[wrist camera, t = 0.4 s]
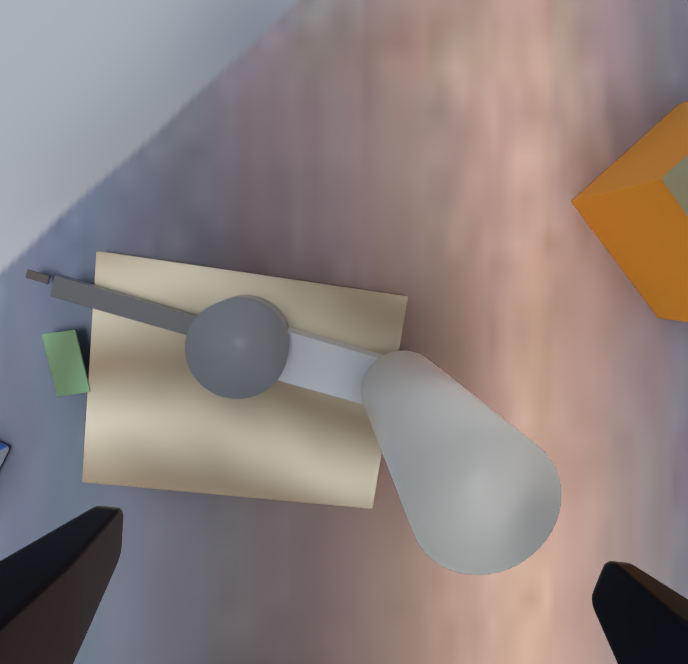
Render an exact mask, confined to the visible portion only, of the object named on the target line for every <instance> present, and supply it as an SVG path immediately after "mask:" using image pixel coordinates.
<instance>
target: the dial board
mask: <svg viewBox="0 0 688 664" xmlns="http://www.w3.org/2000/svg"><path fill="white" fill-rule="evenodd" d="M26 278H28V279H32V280H35V281H39V282H42V283H46V284H49V279H50V276H49V275H45V274H42V273H39V272H35V271H32V270H27V273H26ZM94 285H98V286H101V287H105V288H108V289H112V290H115V291H118V292H122V293H125V294H129V295H132V296H135V297H139V298H142V299H146V300H149V301H153V302H156V303H159V304H163V305H166V306H170V307H173V308H176V309H180V310H183V311H187V312H190V313H194V314H197V315H199V314H200V313H201V312H202V311H203V310H204V309H206V308H208V307H209V306H211V305H213V304H215V303H218V302H220V301H223V300H225V299H228V298H231V297H234V296H239V295H253V296H257V297H261V298H263V299H266V300H267V301H269V302H271V303H272V304H274V305H275V306H276V307H277V308H278V309H279V310H280V311H281V312H282V314H283V315H284V317H285V318H286V320H287V323H288V325H289V327H292V328H296V329H299V330H302V331H306V332H309V333H312V334H316V335H319V336H323V337H326V338H329V339H333V340H336V341H339V342H343V343H346V344H349V345H353V346H356V347H360V348H363V349H366V350H370V351H373V352H376V353H380V354H383V355H385V354H388V353H390V352H394V351H399V348H400V342H401V336H402V330H403V325H404V319H405V313H406V307H407V301H408V296H405V295H398V294H392V293H385V292H378V291H371V290H364V289H357V288H350V287H344V286H337V285H330V284H323V283H316V282H309V281H302V280H296V279H289V278H282V277H275V276H268V275H261V274H254V273H248V272H241V271H234V270H227V269H220V268H213V267H206V266H199V265H193V264H186V263H179V262H172V261H165V260H158V259H151V258H145V257H138V256H131V255H124V254H117V253H110V252H100V251H96V267H95V283H94ZM41 335H42V339H43V343H44V347H45V351H46V354H47V358H48V362H49V366H50V370H51V374H52V378H53V382H54V386H55V390H56V394H57V397H58V396H65V395H72V394H79V393H86V392H88V396H87V412H86V428H85V444H84V460H83V476H82V482H87V483H98V484H108V485H119V486H130V487H141V488H152V489H163V490H174V491H185V492H196V493H206V494H217V495H228V496H239V497H250V498H261V499H272V500H283V501H293V502H304V503H315V504H326V505H337V506H348V507H359V508H370V509H372V507H373V501H374V495H375V490H376V484H377V478H378V472H379V466H380V460H381V454H382V451H381V448H380V446H379V443H378V441H377V438H376V435H375V433H374V430H373V428H372V425H371V423H370V420H369V417H368V415H367V412H366V410H365V407H364V404H360V403H357V402H353V401H350V400H346V399H343V398H339V397H335V396H332V395H328V394H325V393H321V392H318V391H314V390H310V389H307V388H303V387H300V386H296V385H293V384H289V383H285V382H282V381H278V380H277V381H276V382H275V383H274V384H273V385H272V386H271V387H270V388H269V389H268V390H266V391H264V392H263V393H261V394H259V395H256V396H253V397H250V398H245V399H229V398H225V397H221V396H218V395H216V394H214V393H212V392H210V391H208V390H207V389H205V388H204V387H203V386H202V385H201V384H200V383H199V382H198V381H197V380H196V379H195V378H194V376H193V375H192V373H191V371H190V369H189V367H188V364H187V362H186V357H185V340H186V335H184V334H180V333H177V332H173V331H170V330H166V329H163V328H159V327H156V326H152V325H149V324H145V323H142V322H138V321H135V320H131V319H128V318H124V317H121V316H117V315H114V314H110V313H107V312H103V311H100V310H96V309H93V315H92V331H91V347H90V364H89V380H88V377H87V373H86V369H85V365H84V361H83V356H82V352H81V348H80V344H79V340H78V336H77V331H76V330H69V331H61V332H54V333H47V334H41Z"/></svg>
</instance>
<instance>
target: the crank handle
mask: <svg viewBox="0 0 688 664" xmlns="http://www.w3.org/2000/svg"><path fill="white" fill-rule="evenodd" d="M51 297H54V298H58V299H61V300H65V301H68V302H72V303H75V304H79V305H82V306H86V307H89V308H93V309H96V310H100V311H103V312H107V313H110V314H114V315H117V316H121V317H124V318H128V319H131V320H135V321H138V322H142V323H145V324H149V325H152V326H156V327H159V328H163V329H166V330H170V331H173V332H177V333H180V334H184V335H186V340H185V357H186V362H187V364H188V367H189V369H190V371H191V373H192V375H193V376H194V378H195V379H196V380H197V381H198V382H199V383H200V384H201V385H202V386H203V387H204V388H205V389H207V390H208V391H210V392H212V393H214V394H216V395H218V396H221V397H225V398H229V399H245V398H250V397H253V396H256V395H259V394H261V393H263V392H264V391H266V390H268V389H269V388H270V387H271V386H272V385H273V384H274V383H275V382H276V381H277V380H278V381H282V382H285V383H289V384H293V385H296V386H300V387H303V388H307V389H310V390H314V391H318V392H321V393H325V394H328V395H332V396H335V397H339V398H343V399H346V400H350V401H353V402H357V403H360V404H364V407H365V410H366V412H367V415H368V417H369V420H370V423H371V425H372V428H373V430H374V433H375V435H376V438H377V441H378V443H379V446H380V448H381V451H382V454H383V456H384V459H385V461H386V464H387V466H388V469H389V472H390V474H391V477H392V479H393V482H394V484H395V487H396V490H397V492H398V495H399V497H400V500H401V503H402V505H403V508H404V510H405V513H406V515H407V518H408V521H409V523H410V526H411V528H412V531H413V533H414V536H415V538H416V540H417V542H418V543H419V545H420V546H421V548H422V549H423V551H424V552H425V553H426V554H427V555H428V556H429V557H430V558H431V559H432V560H434V561H435V562H436V563H438V564H440V565H441V566H443V567H445V568H447V569H449V570H451V571H455V572H458V573H462V574H468V575H487V574H493V573H498V572H501V571H504V570H507V569H510V568H512V567H514V566H516V565H518V564H520V563H521V562H523V561H525V560H526V559H527V558H529V557H530V556H531V555H533V554H534V553H535V552H536V551H537V550H538V549H539V548H540V547H541V546H542V544H543V543H544V542H545V541H546V539H547V538H548V536H549V535H550V533H551V532H552V530H553V528H554V526H555V523H556V521H557V518H558V515H559V511H560V506H561V485H560V480H559V476H558V473H557V471H556V468H555V466H554V464H553V463H552V461H551V459H550V458H549V457H548V455H547V454H546V453H545V452H544V451H543V450H542V449H541V448H540V447H539V446H538V445H537V444H535V443H534V442H533V441H532V440H530V439H529V438H528V437H527V436H525V435H524V434H523V433H521V432H520V431H519V430H518V429H516V428H515V427H514V426H513V425H511V424H510V423H509V422H507V421H506V420H505V419H504V418H502V417H501V416H500V415H499V414H497V413H496V412H495V411H493V410H492V409H491V408H490V407H488V406H487V405H486V404H485V403H483V402H482V401H481V400H479V399H478V398H477V397H476V396H474V395H473V394H472V393H471V392H469V391H468V390H467V389H465V388H464V387H463V386H462V385H460V384H459V383H458V382H457V381H455V380H454V379H453V378H451V377H450V376H449V375H448V374H446V373H445V372H444V371H443V370H441V369H440V368H439V367H437V366H436V365H435V364H434V363H432V362H431V361H430V360H429V359H427V358H426V357H424V356H423V355H421V354H419V353H416V352H412V351H406V350H402V351H394V352H390V353H388V354H385V355H383V354H380V353H376V352H373V351H370V350H366V349H363V348H360V347H356V346H353V345H349V344H346V343H343V342H339V341H336V340H333V339H329V338H326V337H323V336H319V335H316V334H312V333H309V332H306V331H302V330H299V329H296V328H292V327H289V325H288V323H287V320H286V318H285V317H284V315H283V314H282V312H281V311H280V310H279V309H278V308H277V307H276V306H275V305H274V304H272V303H271V302H269V301H267V300H266V299H263V298H261V297H257V296H253V295H239V296H234V297H231V298H228V299H225V300H223V301H220V302H218V303H215V304H213V305H211V306H209V307H208V308H206V309H204V310H203V311H202V312H201V313H200V314H199V315H197V314H194V313H190V312H187V311H183V310H180V309H176V308H173V307H170V306H166V305H163V304H159V303H156V302H153V301H149V300H146V299H142V298H139V297H135V296H132V295H129V294H125V293H122V292H118V291H115V290H112V289H108V288H105V287H101V286H98V285H94V284H91V283H88V282H84V281H81V280H77V279H74V278H71V277H67V276H64V275H55V278H54V282H53V287H52V291H51Z"/></svg>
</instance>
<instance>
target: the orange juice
mask: <svg viewBox="0 0 688 664" xmlns="http://www.w3.org/2000/svg"><path fill="white" fill-rule="evenodd" d="M571 202H572V204H573V205H574V206H575V208H576V209H577V210H578V212H579V213H580V214H581V216H582V217H583V218H584V220H585V221H586V222H587V224H588V225H589V226H590V228H591V229H592V230H593V232H594V233H595V234H596V236H597V237H598V238H599V240H600V241H601V242H602V244H603V245H604V246H605V248H606V249H607V250H608V252H609V253H610V254H611V256H612V257H613V258H614V260H615V261H616V262H617V264H618V265H619V266H620V268H621V269H622V270H623V272H624V273H625V274H626V276H627V277H628V278H629V280H630V281H631V282H632V284H633V285H634V286H635V288H636V289H637V290H638V292H639V293H640V294H641V296H642V297H643V298H644V300H645V301H646V302H647V304H648V305H649V306H650V308H651V309H652V310H653V312H654V313H655V314H656V316H657V317H658V318H663V319H670V320H677V321H684V322H688V101H686V102H684V103H682V104H679V105H677V106H676V107H675V108H674V109H673V110H672V111H671V112H670V113H668V114H667V115H666V116H665V117H664V118H663V119H662V120H661V121H660V122H658V123H657V124H656V125H655V126H654V127H653V128H652V129H651V130H650V131H649V132H647V133H646V134H645V135H644V136H643V137H642V138H641V139H640V140H639V141H637V142H636V143H635V144H634V145H633V146H632V147H631V148H630V149H629V150H627V151H626V152H625V153H624V154H623V155H622V156H621V157H620V158H619V159H617V160H616V161H615V162H614V163H613V164H612V165H611V166H610V167H609V168H608V169H606V170H605V171H604V172H603V173H602V174H601V175H600V176H599V177H598V178H596V179H595V180H594V181H593V182H592V183H591V184H590V185H589V186H588V187H586V188H585V189H584V190H583V191H582V192H581V193H580V194H579V195H578V196H577V197H575V198H574V199H573V200H572V201H571Z"/></svg>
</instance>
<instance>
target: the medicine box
mask: <svg viewBox="0 0 688 664" xmlns="http://www.w3.org/2000/svg"><path fill="white" fill-rule="evenodd" d="M8 451H9V447H8V446H7V445H6V444H4V443H2V442H0V467H1V465H2V463H3V461H4V459H5V457H6V455H7V453H8Z"/></svg>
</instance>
